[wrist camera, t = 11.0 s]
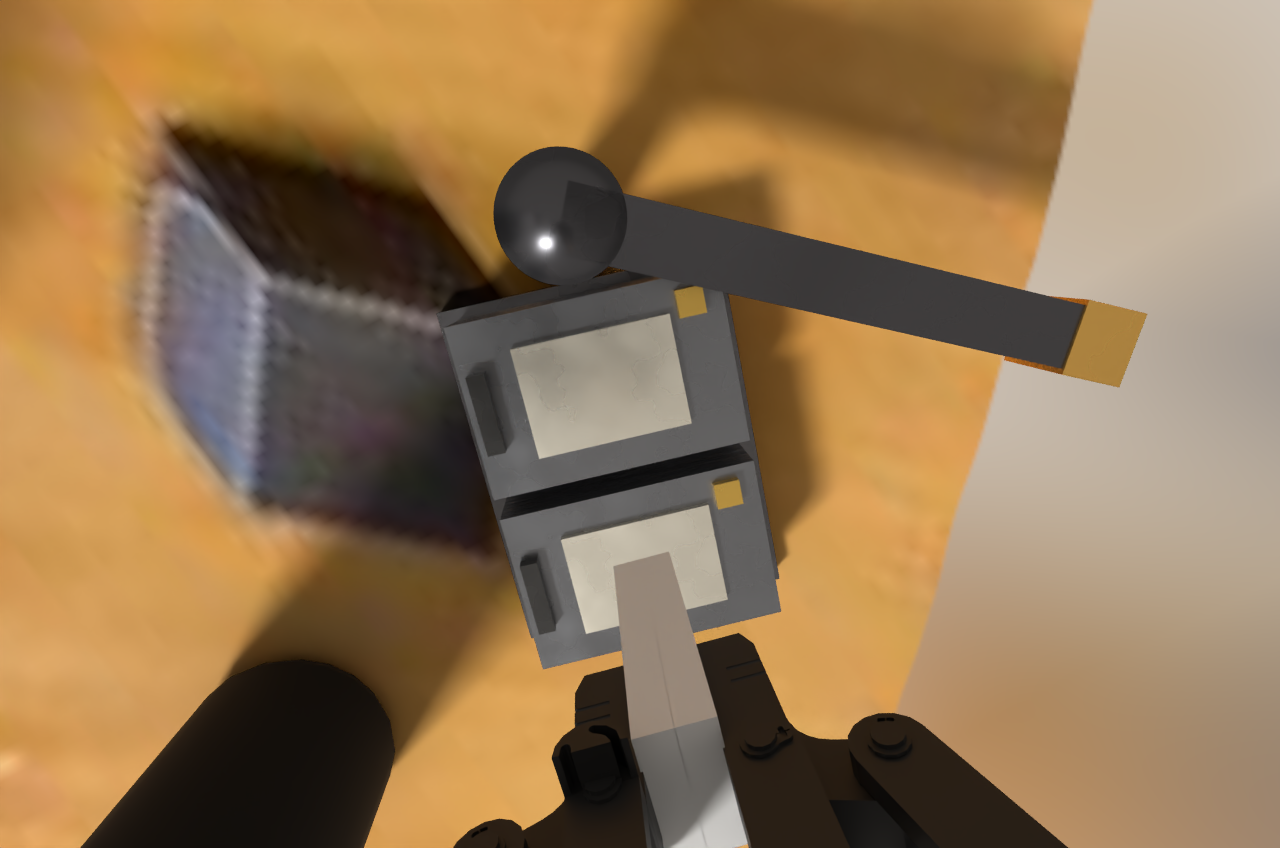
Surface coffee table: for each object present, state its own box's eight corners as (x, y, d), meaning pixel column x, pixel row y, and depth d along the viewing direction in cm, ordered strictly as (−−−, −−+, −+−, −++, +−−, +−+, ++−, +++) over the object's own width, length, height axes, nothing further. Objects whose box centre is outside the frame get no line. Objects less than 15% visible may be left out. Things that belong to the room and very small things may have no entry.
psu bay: (532, 628, 38) (524, 690, 33) (440, 311, 34) (413, 322, 28) (774, 570, 39) (806, 622, 33) (715, 249, 34) (741, 248, 29)
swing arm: (495, 267, 26) (482, 269, 23) (515, 148, 25) (505, 130, 22) (1048, 389, 29) (1111, 407, 26) (1084, 287, 28) (1155, 292, 25)
